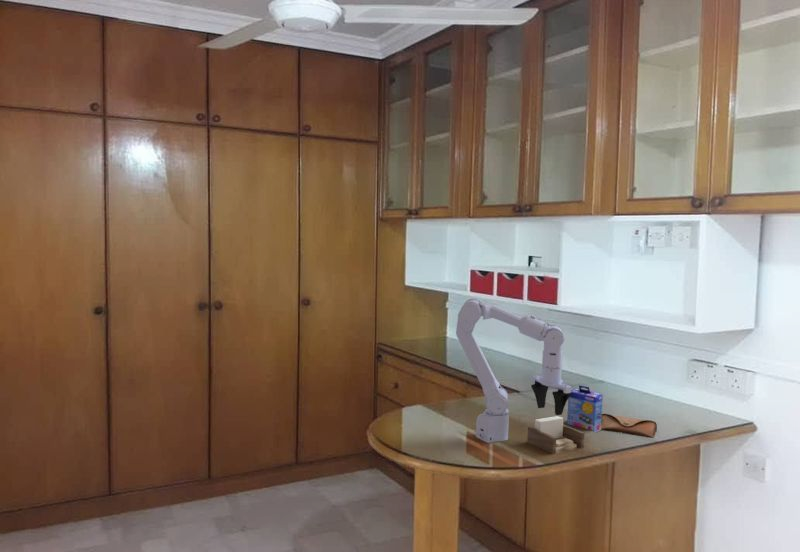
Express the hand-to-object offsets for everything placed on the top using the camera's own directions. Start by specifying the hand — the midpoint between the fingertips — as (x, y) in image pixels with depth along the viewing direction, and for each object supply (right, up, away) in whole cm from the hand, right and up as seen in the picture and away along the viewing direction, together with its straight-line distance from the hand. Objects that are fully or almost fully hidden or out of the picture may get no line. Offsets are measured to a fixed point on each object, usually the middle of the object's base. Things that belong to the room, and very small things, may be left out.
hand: (549, 411), depth 191 cm
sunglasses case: (+29, -11, +17) cm, 35 cm away
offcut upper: (+3, -9, -4) cm, 10 cm away
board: (0, -9, +1) cm, 9 cm away
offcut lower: (+3, -10, -4) cm, 11 cm away
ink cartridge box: (+15, -10, +17) cm, 25 cm away
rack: (+1, -11, -2) cm, 11 cm away
